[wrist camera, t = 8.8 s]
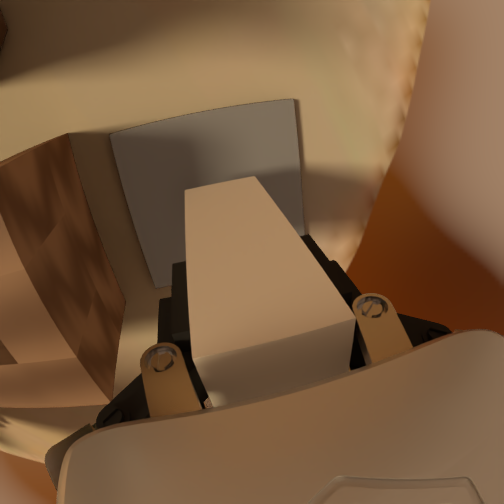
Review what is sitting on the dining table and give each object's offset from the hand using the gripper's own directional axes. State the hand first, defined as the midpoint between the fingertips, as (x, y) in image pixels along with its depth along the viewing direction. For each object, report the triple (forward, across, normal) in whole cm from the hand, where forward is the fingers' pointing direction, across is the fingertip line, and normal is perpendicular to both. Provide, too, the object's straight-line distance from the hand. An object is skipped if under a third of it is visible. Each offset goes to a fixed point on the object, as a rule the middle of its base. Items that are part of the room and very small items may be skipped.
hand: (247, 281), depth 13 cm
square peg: (+7, 0, 0) cm, 7 cm away
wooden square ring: (+10, +16, 0) cm, 19 cm away
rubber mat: (+10, 0, 0) cm, 10 cm away
